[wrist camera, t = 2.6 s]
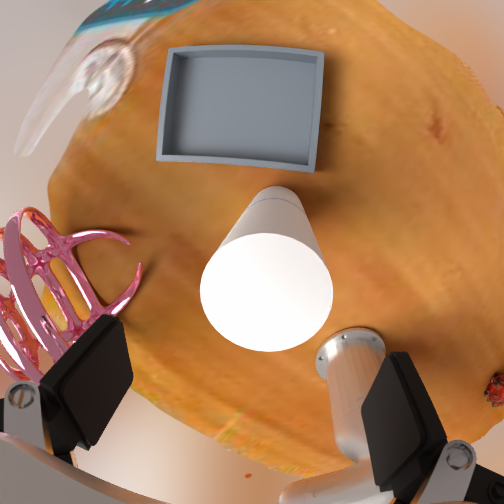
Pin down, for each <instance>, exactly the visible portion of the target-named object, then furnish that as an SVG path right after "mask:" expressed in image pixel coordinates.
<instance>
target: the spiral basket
mask: <svg viewBox="0 0 504 504" xmlns="http://www.w3.org/2000/svg"><path fill="white" fill-rule="evenodd" d="M22 217H24V218H26V219H28V220H29V221H31V222H32V223H33V224H34V225H35V226H36V227H37V228H38V229H39V230H40V231H41V232H42V233H43V234H44V236H45V237H46V238H47V240H48V242H49V243H48V246H47V247H46V248H45V249H43V250H38V249H36V248H35V247H34V246H33V244H32V243H31V242H30V241H29V240H28V239H27V238H26V237H25V236H23V235H22V234H21V233H20V227H21V219H22ZM103 238H108V239H115V240H118V241H121V242H123V243H125V244H127V245H130V244H131V241H130V240H129V239H128V238H126V237H124V236H123V235H121V234H118V233H116V232H113V231H108V230H100V229H94V230H85V231H80V232H77V233H74V234H70V235H66V236H64V235H61V234H60V233H59V232H58V231H57V230H56V228H55V227H54V226H53V224H52V223H51V222H50V221H49V220H48V218H47V217H46V216H45V215H43V213H41V212H40V211H39V210H37V209H36V208H34V207H29V206H28V207H23V208H21V209H19V210H17V211H16V212H14V213H13V214H12V215H11V216H10V217H9V219H8V221H7V223H6V226H5V227H1V228H0V241H3V247H4V258H5V260H3V259H1V258H0V275H1V276H3V277H4V278H6V279H7V280H8V281H9V282H10V284H11V287H12V289H11V292H10V294H9V296H8V297H4V296H3V295H1V294H0V342H1V343H2V345H3V347H4V348H5V350H6V351H7V353H8V354H9V356H10V357H11V359H12V360H13V361H14V362H15V364H16V365H17V366H18V367H19V368H20V370H18V369H14V368H12V367H10V366H9V365H8V364H7V363H6V362H5V360H4V359H3V357H2V356H1V355H0V367H1V368H2V369H3V370H4V371H5V372H6V374H7V375H8V376H9V377H11V379H13V380H14V381H15V382H18V381H33V382H34V383H35V384H36V385H37V386H39V385H40V382H39V381H40V380H41V379H42V378H43V376H44V374H43V373H42V372H41V371H40V370H39V366H40V365H39V356H38V349H39V348H42V347H43V348H45V349H46V351H47V352H48V353H49V354H50V355H51V357H52V358H53V361H54V364H55V363H56V362H57V361H58V360H59V359H60V358H61V357H62V355H63V354H64V353H65V352H66V351H67V350H68V349H69V348H70V347H71V346H70V345H69V344H68V342H74V343H75V342H76V341H77V339H78V338H79V337H80V336H81V335H82V334H83V333H84V332H85V331H86V330H87V329H88V328H89V327H90V326H91V325H92V324H93V323H94V322H95V321H96V320H97V319H98V318H99V317H100V316H101V315H102V314H108V315H112V316H116V315H117V314H118V313H119V312H120V311H121V310H122V309H123V308H124V307H125V306H126V305H127V304H128V302H129V301H130V300H131V298H132V297H133V295H134V294H135V292H136V290H137V288H138V286H139V284H140V281H141V277H142V272H143V264H142V263H141V262H140V263H139V264H138V267H137V272H136V274H135V277H134V279H133V280H132V282H131V283H130V285H129V286H128V287H127V289H126V290H125V291H124V292H123V293H122V294H121V295H120V296H119V297H118V298H117V299H116V300H115V301H114V302H112V303H111V304H110V305H108V306H106V307H104V306H102V305H101V303H100V302H99V300H98V298H97V296H96V294H95V293H94V291H93V289H92V287H91V285H90V283H89V281H88V280H87V278H86V276H85V274H84V272H83V271H82V269H81V267H80V265H79V264H78V262H77V260H76V259H75V257H74V255H73V253H72V248H73V247H74V246H76V245H78V244H80V243H83V242H86V241H90V240H95V239H103ZM24 256H25V257H26V259H27V261H28V263H27V266H26V263H25V259H24ZM54 258H60V259H61V260H62V261H63V263H64V264H65V266H66V268H67V269H68V271H69V273H70V274H71V276H72V278H73V279H74V281H75V283H76V285H77V287H78V288H79V290H80V292H81V294H82V296H83V298H84V300H85V301H86V303H87V305H88V307H89V310H90V317H89V318H88V319H87V320H81V319H80V318H79V317H78V315H77V314H76V312H75V310H74V308H73V306H72V304H71V302H70V300H69V298H68V296H67V295H66V293H65V291H64V289H63V288H62V286H61V284H60V282H59V281H58V279H57V278H56V276H55V274H54V273H53V271H52V270H51V267H50V262H51V260H52V259H54ZM34 275H39V276H40V277H41V278H42V279H43V281H44V282H45V284H46V285H47V287H48V288H49V290H50V292H51V293H52V295H53V297H54V298H55V300H56V302H57V304H58V306H59V307H60V309H61V311H62V313H63V315H64V317H65V319H66V321H67V325H68V327H67V329H66V330H64V331H61V332H60V331H58V330H57V328H56V327H55V325H54V324H53V322H52V321H51V319H50V317H49V315H48V313H47V311H46V310H45V308H44V306H43V304H42V303H41V301H40V299H39V297H38V295H37V293H36V290H35V288H34V286H33V283H32V281H31V279H32V277H33V276H34ZM16 300H17V303H18V305H19V307H20V309H21V311H22V313H23V315H24V317H25V319H26V321H27V323H28V324H29V326H30V328H31V329H32V331H33V332H34V334H35V335H36V337H37V339H35V338H34V337H33V336H32V335H31V333H30V331H29V329H28V327H27V325H26V323H25V321H24V320H23V318H22V316H21V315H20V314H19V312H18V311H17V309H16V308H15V301H16ZM1 311H2V312H1ZM8 318H9V319H10V320H11V321H12V323H13V324H14V326H15V327H16V329H17V331H18V333H19V335H20V337H21V341H19V342H17V341H16V339H15V337H14V336H13V334H12V332H11V331H10V329H9V327H8V325H7V323H6V321H7V319H8ZM22 348H23V349H25V351H26V354H25V352H24V351H23V350H22Z"/></svg>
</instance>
